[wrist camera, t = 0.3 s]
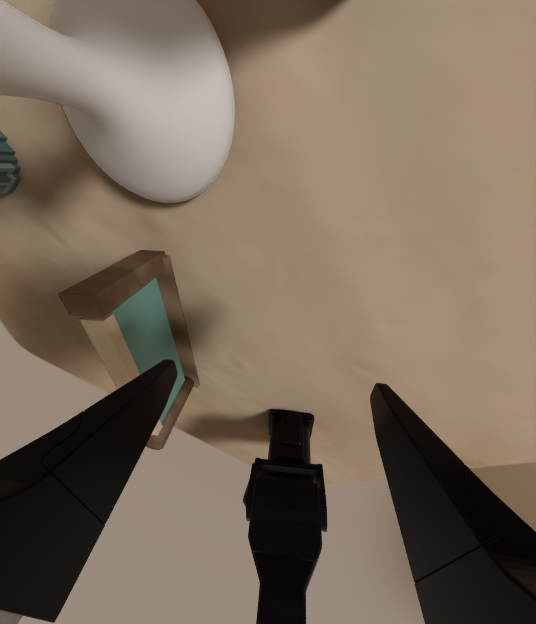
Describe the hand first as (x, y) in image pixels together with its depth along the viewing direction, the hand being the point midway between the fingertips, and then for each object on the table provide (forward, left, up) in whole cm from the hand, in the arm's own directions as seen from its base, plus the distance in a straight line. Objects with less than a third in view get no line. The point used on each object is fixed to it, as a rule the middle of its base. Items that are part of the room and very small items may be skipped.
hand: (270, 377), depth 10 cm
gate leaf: (-8, +13, -12) cm, 19 cm away
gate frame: (-9, +13, -13) cm, 20 cm away
